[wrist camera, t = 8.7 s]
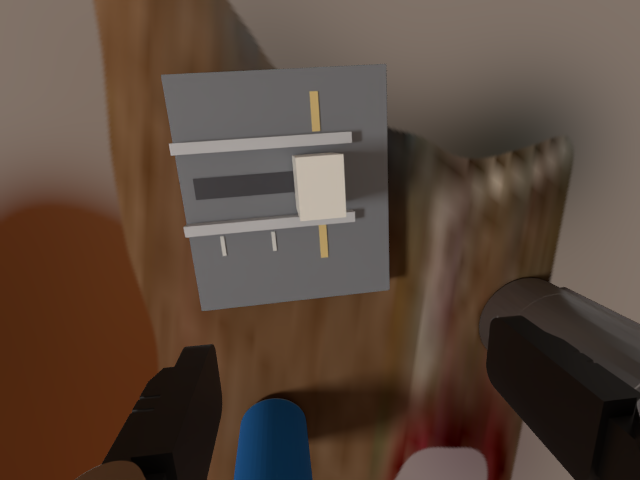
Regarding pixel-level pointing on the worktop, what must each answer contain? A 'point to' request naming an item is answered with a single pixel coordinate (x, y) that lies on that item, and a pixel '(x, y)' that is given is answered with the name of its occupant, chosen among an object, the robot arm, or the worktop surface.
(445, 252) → the worktop surface
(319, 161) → the fader tab
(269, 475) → the beverage can
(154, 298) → the worktop surface
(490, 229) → the worktop surface
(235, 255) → the fader console
